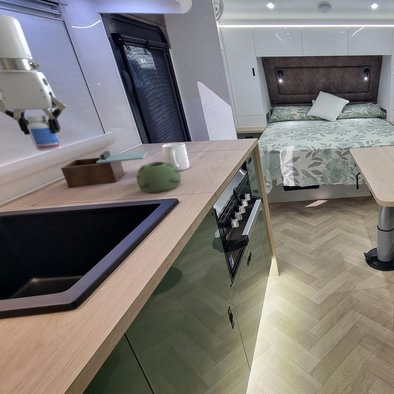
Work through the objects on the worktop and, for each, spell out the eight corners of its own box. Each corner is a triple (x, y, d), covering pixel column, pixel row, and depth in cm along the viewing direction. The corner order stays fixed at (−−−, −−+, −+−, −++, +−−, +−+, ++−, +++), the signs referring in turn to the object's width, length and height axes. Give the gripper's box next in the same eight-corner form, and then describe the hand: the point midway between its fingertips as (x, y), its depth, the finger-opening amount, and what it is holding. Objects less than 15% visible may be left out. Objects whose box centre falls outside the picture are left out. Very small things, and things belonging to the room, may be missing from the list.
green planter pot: (184, 189, 100) (178, 165, 97) (139, 197, 94) (131, 171, 90) (179, 177, 113) (174, 155, 109) (140, 183, 106) (133, 160, 103)
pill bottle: (65, 147, 90) (53, 115, 86) (44, 151, 85) (30, 117, 81) (53, 146, 91) (41, 114, 87) (32, 150, 86) (18, 116, 83)
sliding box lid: (96, 163, 104) (94, 157, 103) (106, 155, 115) (104, 150, 114) (142, 159, 109) (140, 152, 109) (148, 152, 120) (146, 146, 119)
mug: (188, 172, 119) (182, 147, 115) (164, 174, 116) (158, 149, 112) (190, 165, 129) (185, 142, 125) (169, 167, 126) (163, 143, 122)
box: (68, 187, 103) (60, 168, 100) (81, 177, 114) (74, 159, 111) (116, 181, 108) (110, 163, 106) (124, 172, 119) (118, 155, 116)
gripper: (62, 67, 86) (83, 129, 93) (-18, 66, 79) (11, 133, 86) (50, 66, 80) (74, 133, 86) (-38, 65, 73) (-5, 137, 80)
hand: (42, 132), depth 86 cm, fingers closed on pill bottle, 5 cm apart
